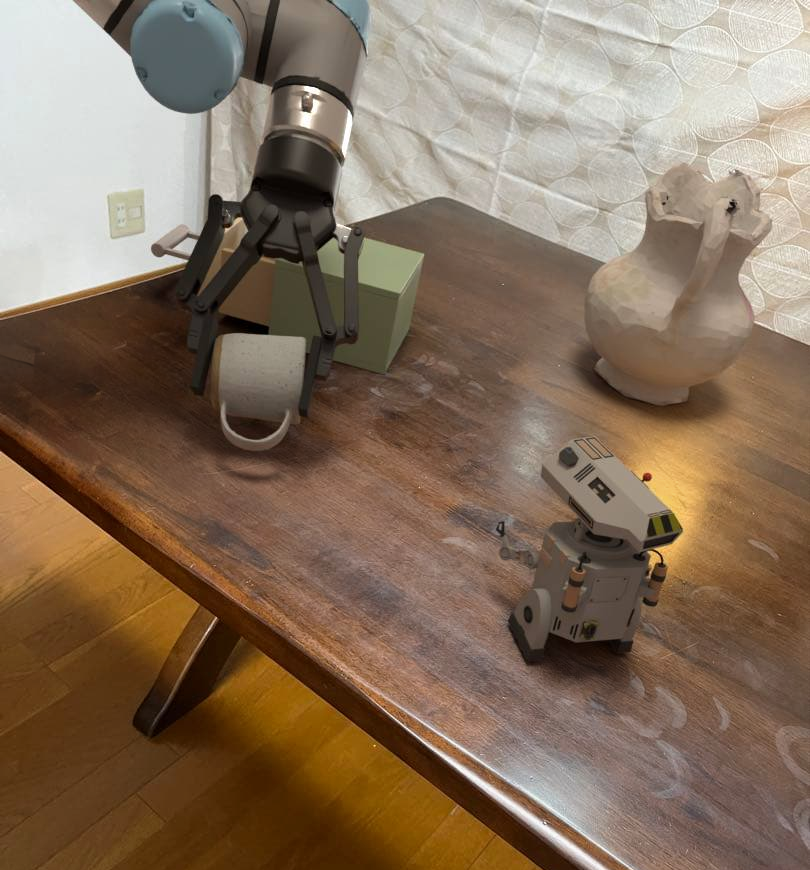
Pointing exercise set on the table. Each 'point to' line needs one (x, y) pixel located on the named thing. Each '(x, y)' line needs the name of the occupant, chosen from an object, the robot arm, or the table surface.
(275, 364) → the ceramic mug
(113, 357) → the table surface
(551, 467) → the figurine
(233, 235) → the drawer
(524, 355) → the table surface
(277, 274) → the cabinet
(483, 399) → the table surface
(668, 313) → the ceramic pitcher
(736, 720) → the table surface
